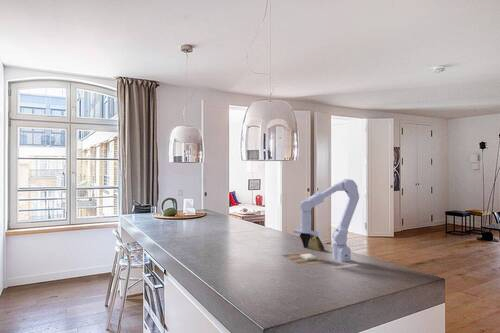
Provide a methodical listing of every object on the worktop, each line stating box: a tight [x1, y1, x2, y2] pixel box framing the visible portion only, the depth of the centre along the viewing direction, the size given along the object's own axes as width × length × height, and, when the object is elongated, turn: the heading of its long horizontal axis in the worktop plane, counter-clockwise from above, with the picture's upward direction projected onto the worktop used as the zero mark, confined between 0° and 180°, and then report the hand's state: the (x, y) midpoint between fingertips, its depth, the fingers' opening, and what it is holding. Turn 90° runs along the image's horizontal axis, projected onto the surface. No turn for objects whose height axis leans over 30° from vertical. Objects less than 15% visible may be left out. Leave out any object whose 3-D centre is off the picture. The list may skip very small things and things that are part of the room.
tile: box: [300, 253, 317, 261], centre depth 177 cm, size 2×6×7 cm
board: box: [281, 251, 329, 266], centre depth 177 cm, size 22×16×1 cm
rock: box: [307, 235, 326, 252], centre depth 200 cm, size 11×9×10 cm
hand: (305, 247), depth 180 cm, fingers closed
